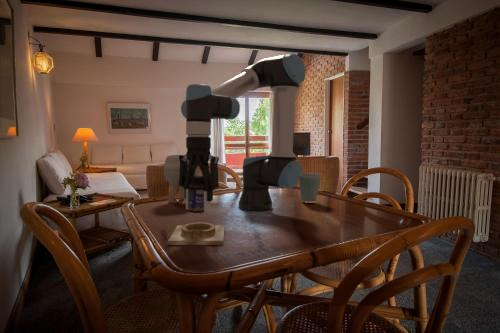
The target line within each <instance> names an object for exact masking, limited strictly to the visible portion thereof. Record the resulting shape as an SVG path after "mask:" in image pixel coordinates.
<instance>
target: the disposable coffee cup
mask: <svg viewBox="0 0 500 333" xmlns="http://www.w3.org/2000/svg"><path fill="white" fill-rule="evenodd" d="M321 179H322V175H321V173H316V172H315V173H314V172H301V177H300V179H299V188H300V198H301V200H302V201H316V202H317V196H318V192H319V189H320V188H319V187H320V183H321ZM302 201H301V202H302Z"/></svg>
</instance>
